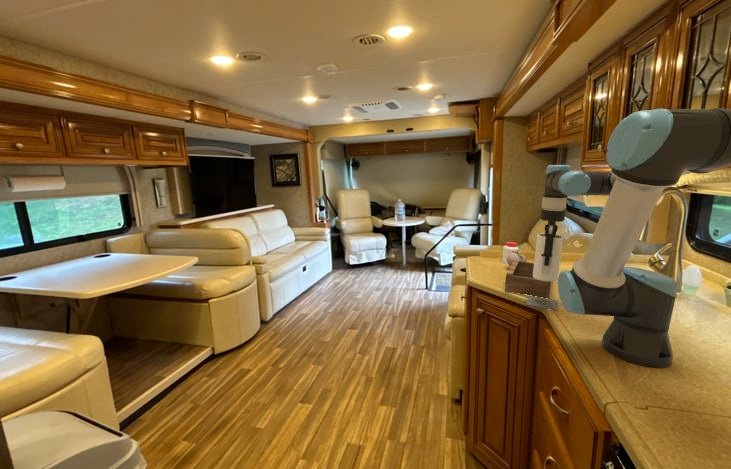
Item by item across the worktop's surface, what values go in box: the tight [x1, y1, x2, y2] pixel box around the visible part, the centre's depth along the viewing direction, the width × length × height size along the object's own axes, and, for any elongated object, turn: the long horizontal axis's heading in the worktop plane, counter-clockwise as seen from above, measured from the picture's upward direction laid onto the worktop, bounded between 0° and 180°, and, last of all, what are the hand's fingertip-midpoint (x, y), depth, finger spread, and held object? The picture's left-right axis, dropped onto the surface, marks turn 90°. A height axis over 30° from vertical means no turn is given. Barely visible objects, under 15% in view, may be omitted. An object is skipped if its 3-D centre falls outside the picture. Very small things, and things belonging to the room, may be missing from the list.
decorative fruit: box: [507, 250, 528, 267], centre depth 164 cm, size 9×8×10 cm
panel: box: [525, 295, 559, 312], centre depth 124 cm, size 10×10×1 cm
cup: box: [533, 232, 564, 282], centre depth 120 cm, size 8×8×16 cm
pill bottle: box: [501, 241, 520, 266], centre depth 176 cm, size 8×8×11 cm
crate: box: [504, 259, 552, 299], centre depth 142 cm, size 26×16×8 cm, turn 150°
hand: (545, 270), depth 121 cm, fingers closed on cup, 8 cm apart
